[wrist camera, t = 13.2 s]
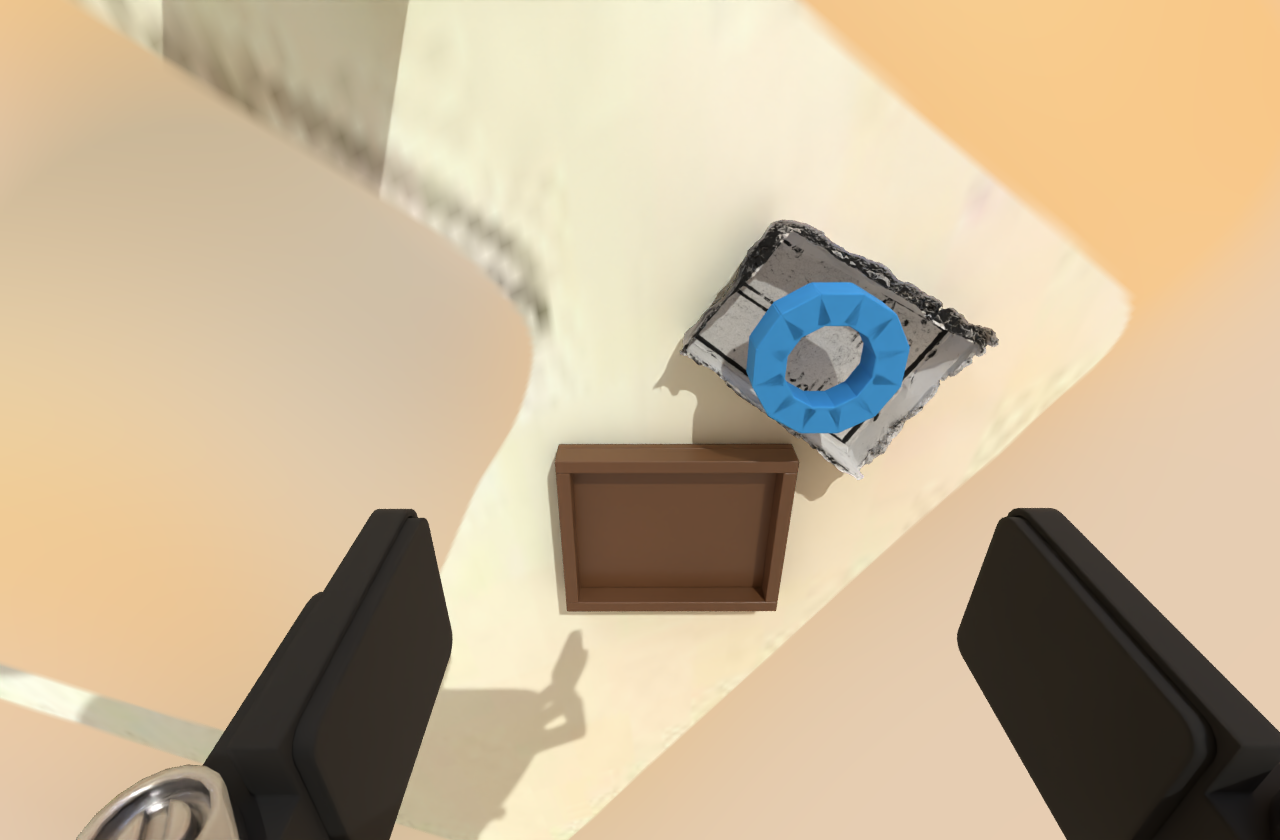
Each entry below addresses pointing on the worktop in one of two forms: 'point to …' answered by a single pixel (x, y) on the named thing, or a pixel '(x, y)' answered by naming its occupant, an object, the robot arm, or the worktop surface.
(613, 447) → the tray
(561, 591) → the worktop surface
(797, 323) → the ring
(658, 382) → the worktop surface
